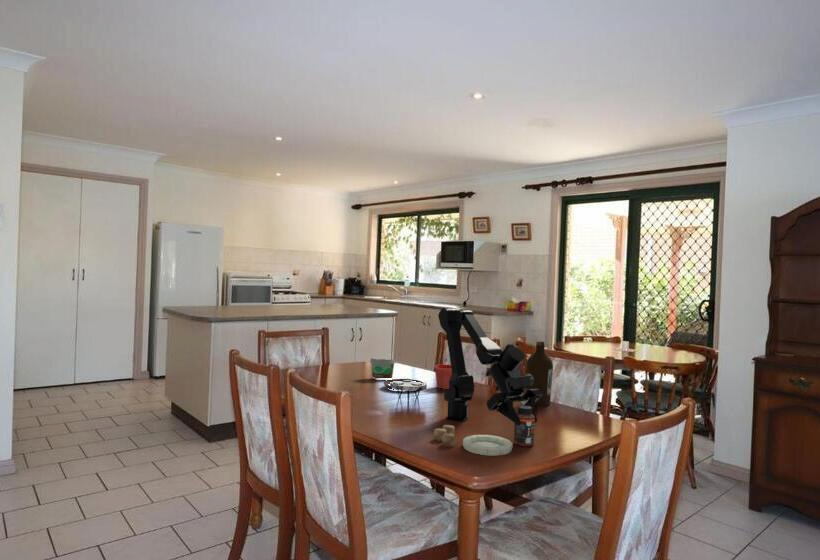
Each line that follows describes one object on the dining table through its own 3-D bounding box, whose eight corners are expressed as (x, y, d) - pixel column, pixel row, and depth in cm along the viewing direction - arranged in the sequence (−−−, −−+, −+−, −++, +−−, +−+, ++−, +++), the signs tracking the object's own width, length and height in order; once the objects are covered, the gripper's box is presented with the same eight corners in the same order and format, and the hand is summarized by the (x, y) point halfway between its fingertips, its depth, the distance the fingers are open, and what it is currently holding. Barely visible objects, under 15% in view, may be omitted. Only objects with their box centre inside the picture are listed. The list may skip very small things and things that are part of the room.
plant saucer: (392, 394, 229) (392, 387, 229) (377, 386, 245) (377, 379, 245) (430, 392, 236) (430, 385, 236) (413, 384, 252) (413, 377, 252)
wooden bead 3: (445, 447, 160) (445, 437, 160) (440, 443, 163) (440, 433, 163) (456, 446, 161) (456, 436, 161) (451, 443, 164) (452, 433, 164)
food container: (366, 380, 257) (367, 359, 257) (369, 378, 263) (370, 357, 263) (392, 382, 255) (393, 360, 255) (395, 379, 261) (395, 358, 261)
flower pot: (459, 390, 240) (460, 368, 240) (434, 390, 240) (435, 367, 240) (457, 386, 251) (458, 364, 250) (434, 385, 251) (434, 364, 251)
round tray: (457, 451, 157) (457, 444, 157) (470, 438, 170) (471, 432, 170) (505, 458, 151) (506, 452, 151) (515, 444, 164) (516, 438, 164)
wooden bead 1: (434, 441, 165) (434, 431, 165) (434, 437, 169) (434, 428, 169) (446, 441, 165) (446, 432, 165) (445, 438, 169) (446, 428, 169)
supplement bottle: (534, 448, 162) (535, 410, 162) (513, 446, 163) (515, 408, 163) (533, 442, 168) (535, 405, 168) (513, 440, 169) (515, 403, 169)
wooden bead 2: (441, 436, 170) (441, 427, 170) (444, 433, 174) (445, 424, 174) (452, 438, 169) (452, 428, 169) (455, 435, 172) (455, 425, 172)
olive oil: (523, 404, 217) (525, 342, 217) (526, 399, 227) (528, 339, 227) (550, 407, 214) (553, 343, 214) (552, 402, 224) (554, 341, 224)
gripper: (494, 366, 164) (519, 412, 154) (539, 363, 174) (564, 405, 164) (476, 388, 170) (499, 432, 161) (520, 383, 180) (544, 425, 171)
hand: (527, 423), depth 164 cm, fingers open, 6 cm apart
